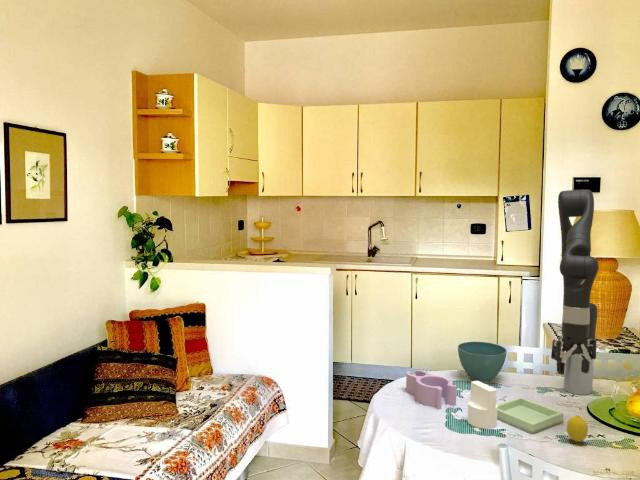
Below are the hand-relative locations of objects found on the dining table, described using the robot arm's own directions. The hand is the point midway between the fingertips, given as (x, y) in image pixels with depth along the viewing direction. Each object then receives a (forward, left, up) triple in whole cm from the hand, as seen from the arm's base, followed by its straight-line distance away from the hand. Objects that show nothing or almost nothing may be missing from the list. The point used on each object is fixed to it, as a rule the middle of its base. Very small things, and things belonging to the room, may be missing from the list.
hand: (572, 373), depth 166 cm
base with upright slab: (+19, -18, -18) cm, 32 cm away
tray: (+5, -12, -18) cm, 22 cm away
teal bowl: (-13, -45, -18) cm, 50 cm away
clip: (+18, -42, -18) cm, 49 cm away
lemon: (+6, +6, -18) cm, 20 cm away
